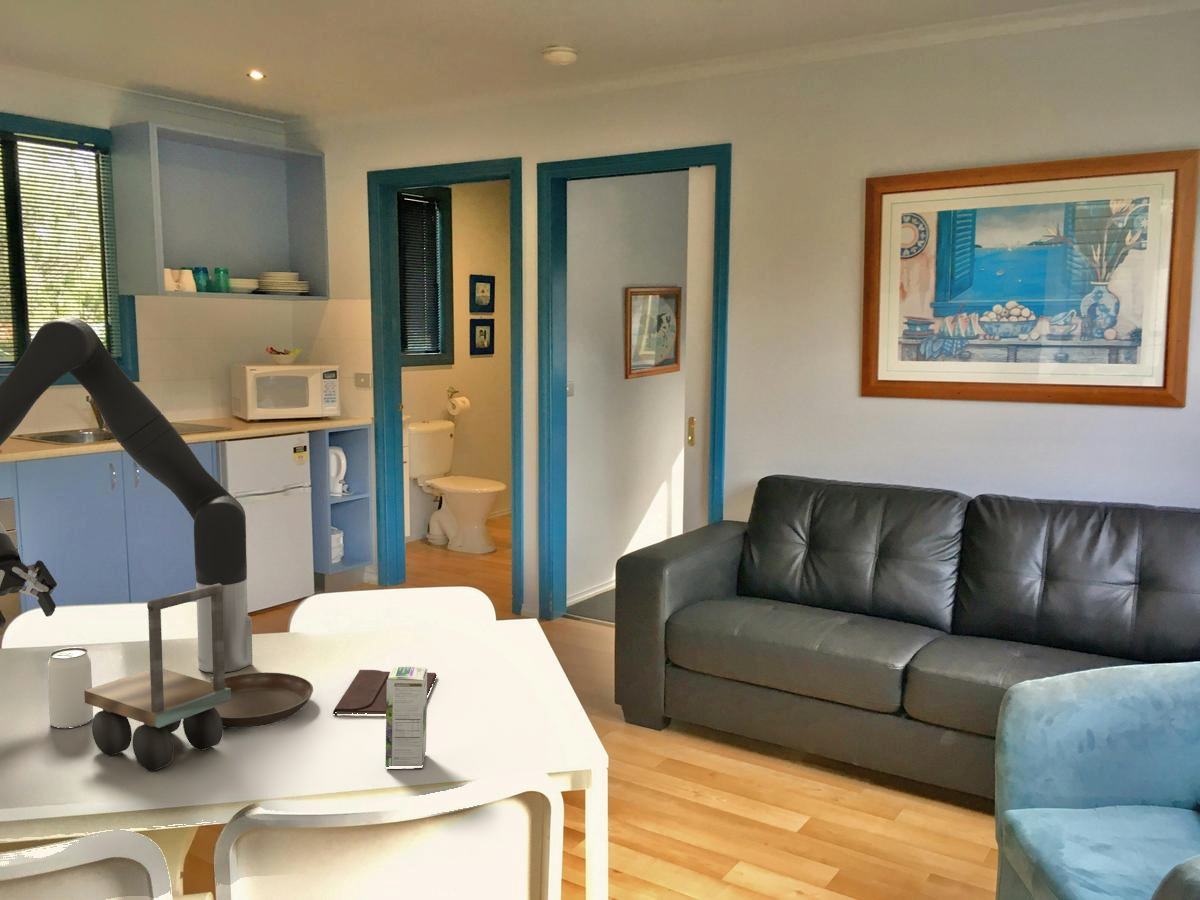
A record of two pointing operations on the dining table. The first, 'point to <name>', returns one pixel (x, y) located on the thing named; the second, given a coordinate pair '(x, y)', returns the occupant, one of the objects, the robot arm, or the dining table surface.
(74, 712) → the can
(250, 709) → the plant saucer
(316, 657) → the dining table surface
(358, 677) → the notebook
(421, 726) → the syrup box
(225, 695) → the trolley
